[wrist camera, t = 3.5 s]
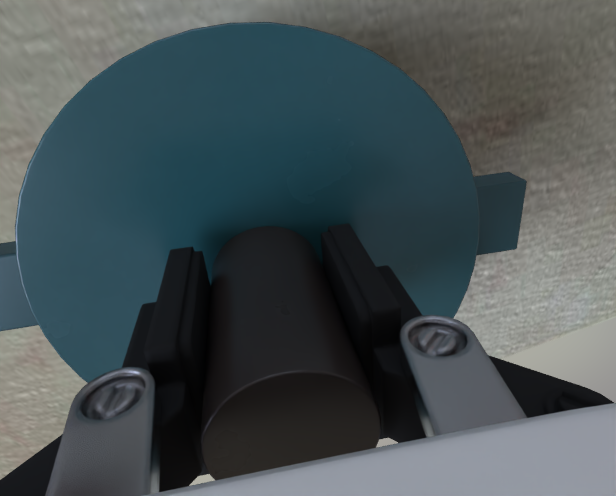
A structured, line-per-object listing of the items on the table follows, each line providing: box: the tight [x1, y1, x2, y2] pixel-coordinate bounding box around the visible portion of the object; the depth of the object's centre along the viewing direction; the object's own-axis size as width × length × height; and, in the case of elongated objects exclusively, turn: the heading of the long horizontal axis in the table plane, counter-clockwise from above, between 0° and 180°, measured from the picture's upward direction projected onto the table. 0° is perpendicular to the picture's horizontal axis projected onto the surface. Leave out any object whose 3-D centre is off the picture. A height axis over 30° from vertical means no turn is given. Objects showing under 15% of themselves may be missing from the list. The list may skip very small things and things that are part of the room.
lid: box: [15, 22, 479, 481], centre depth 10 cm, size 12×12×7 cm
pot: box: [0, 172, 527, 331], centre depth 17 cm, size 11×17×10 cm
